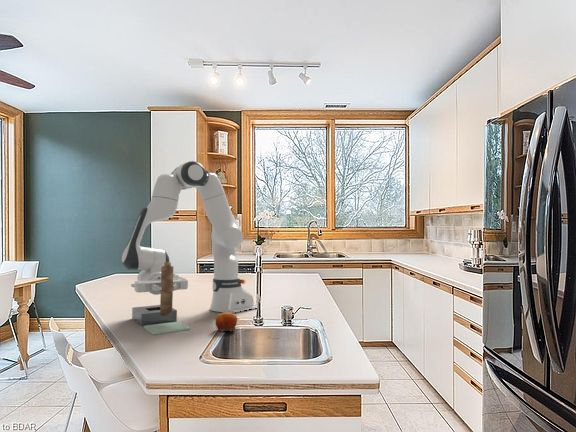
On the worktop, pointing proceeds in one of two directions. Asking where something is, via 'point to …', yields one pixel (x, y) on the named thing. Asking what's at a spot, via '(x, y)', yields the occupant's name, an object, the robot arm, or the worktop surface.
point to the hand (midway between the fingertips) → (167, 288)
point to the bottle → (166, 289)
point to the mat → (166, 328)
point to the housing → (152, 315)
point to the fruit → (226, 321)
